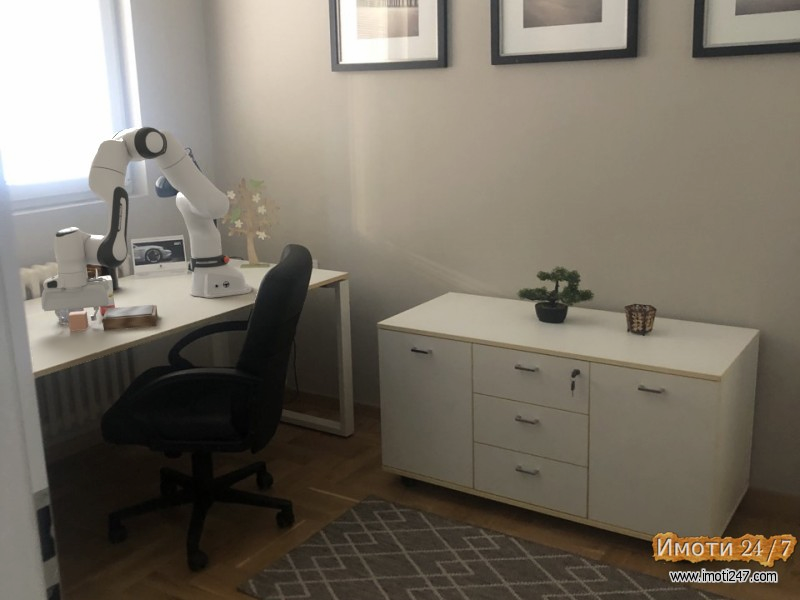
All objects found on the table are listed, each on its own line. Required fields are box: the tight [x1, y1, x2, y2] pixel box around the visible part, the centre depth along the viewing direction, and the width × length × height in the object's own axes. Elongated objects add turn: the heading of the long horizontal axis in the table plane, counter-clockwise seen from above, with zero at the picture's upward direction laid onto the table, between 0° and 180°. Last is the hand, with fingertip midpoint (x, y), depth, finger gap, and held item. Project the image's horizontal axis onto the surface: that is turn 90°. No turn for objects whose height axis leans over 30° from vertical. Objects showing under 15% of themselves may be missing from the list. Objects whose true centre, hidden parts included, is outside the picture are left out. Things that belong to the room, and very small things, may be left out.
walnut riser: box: [101, 304, 158, 332], centre depth 275 cm, size 16×14×4 cm
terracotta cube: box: [68, 310, 89, 332], centre depth 271 cm, size 5×5×5 cm
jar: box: [86, 264, 120, 291], centre depth 324 cm, size 12×12×15 cm
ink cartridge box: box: [96, 269, 116, 315], centre depth 290 cm, size 9×5×15 cm, turn 23°
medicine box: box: [58, 308, 85, 323], centre depth 283 cm, size 8×4×9 cm, turn 163°
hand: (78, 321), depth 271 cm, fingers open, 8 cm apart
